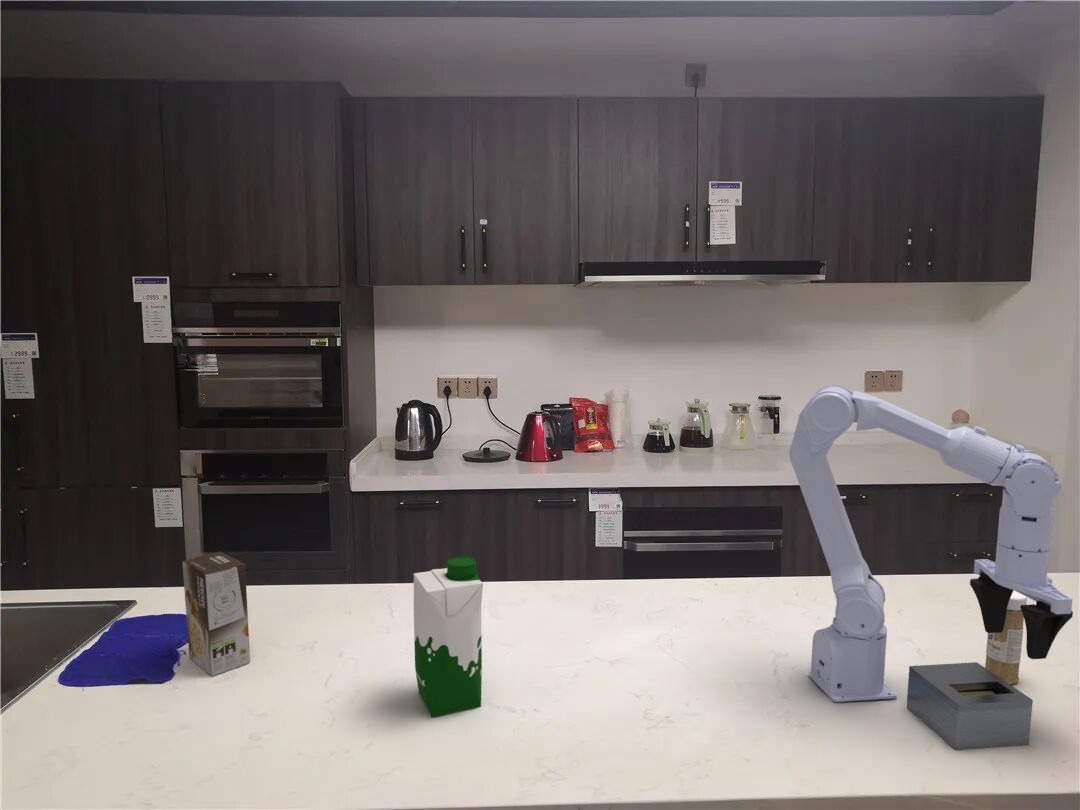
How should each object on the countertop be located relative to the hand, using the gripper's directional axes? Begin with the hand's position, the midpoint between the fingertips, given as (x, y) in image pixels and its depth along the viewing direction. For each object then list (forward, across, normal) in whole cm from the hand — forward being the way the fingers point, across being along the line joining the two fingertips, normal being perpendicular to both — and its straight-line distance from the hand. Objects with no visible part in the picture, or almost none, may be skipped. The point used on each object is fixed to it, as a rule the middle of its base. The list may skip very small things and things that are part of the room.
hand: (1014, 644), depth 97 cm
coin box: (+10, -1, +7) cm, 13 cm away
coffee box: (+11, +29, +111) cm, 115 cm away
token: (+10, -2, +7) cm, 13 cm away
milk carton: (+11, +13, +75) cm, 77 cm away
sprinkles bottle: (+11, +10, -7) cm, 16 cm away
